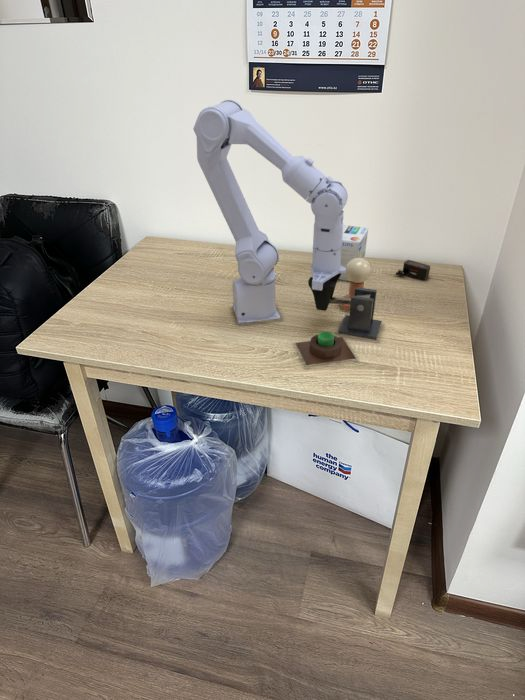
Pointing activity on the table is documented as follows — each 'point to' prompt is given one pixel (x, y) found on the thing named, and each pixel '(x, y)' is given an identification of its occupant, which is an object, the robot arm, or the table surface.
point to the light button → (325, 339)
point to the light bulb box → (352, 245)
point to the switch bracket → (361, 316)
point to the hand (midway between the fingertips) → (323, 305)
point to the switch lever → (346, 299)
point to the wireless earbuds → (415, 270)
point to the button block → (324, 351)
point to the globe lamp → (356, 276)
